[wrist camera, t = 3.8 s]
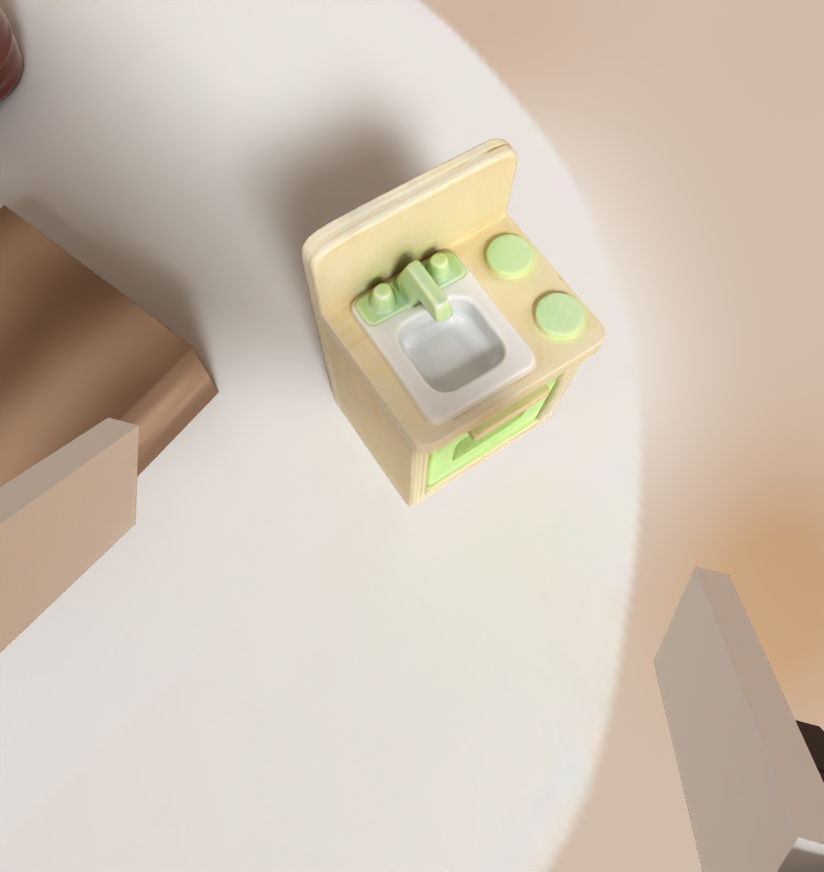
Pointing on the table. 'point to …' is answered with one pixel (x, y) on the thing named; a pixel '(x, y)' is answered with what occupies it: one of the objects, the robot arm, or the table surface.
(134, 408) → the walnut block
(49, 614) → the table surface
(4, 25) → the mug
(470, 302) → the toy sink
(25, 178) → the table surface
